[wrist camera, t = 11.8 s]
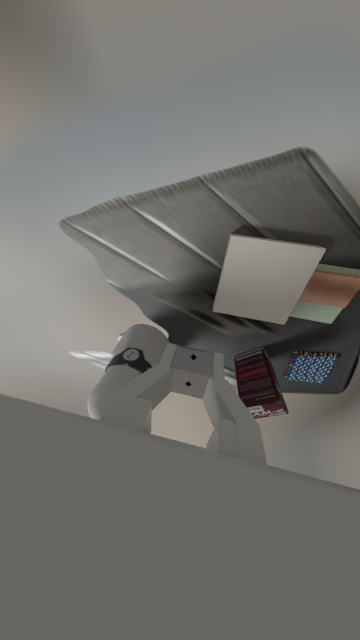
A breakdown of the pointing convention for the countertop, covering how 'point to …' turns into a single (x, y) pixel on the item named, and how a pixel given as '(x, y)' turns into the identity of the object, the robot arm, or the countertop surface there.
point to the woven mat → (310, 366)
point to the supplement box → (258, 384)
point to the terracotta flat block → (330, 288)
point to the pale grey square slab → (264, 277)
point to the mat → (319, 310)
